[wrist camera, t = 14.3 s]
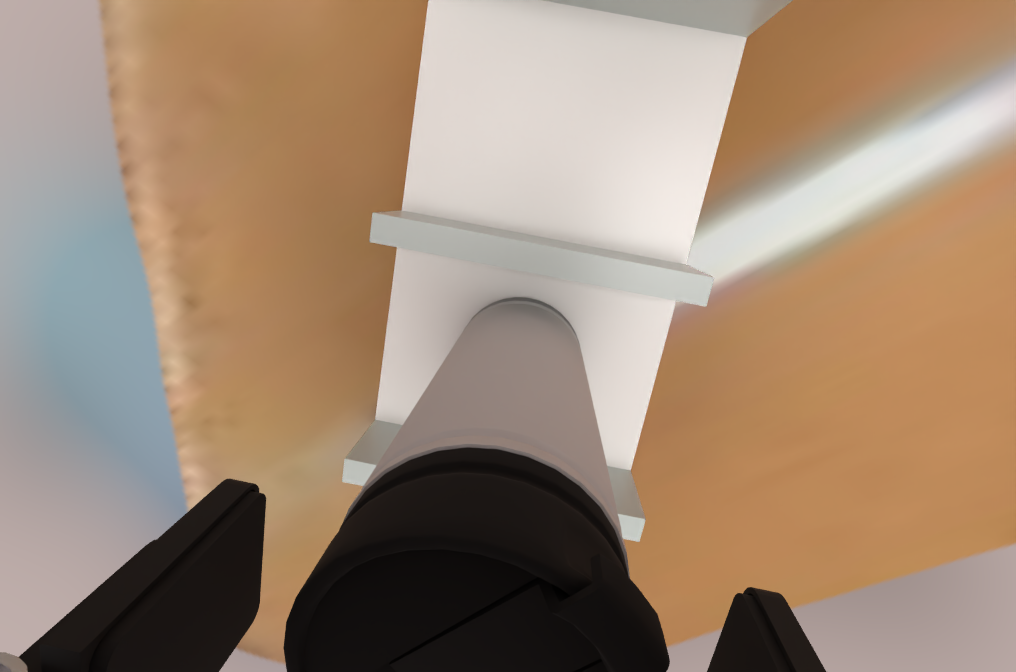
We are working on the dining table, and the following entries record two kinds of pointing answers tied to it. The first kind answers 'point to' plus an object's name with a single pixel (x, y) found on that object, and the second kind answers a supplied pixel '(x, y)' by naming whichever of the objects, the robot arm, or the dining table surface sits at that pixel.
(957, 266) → the dining table surface
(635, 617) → the travel mug
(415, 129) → the dish rack
